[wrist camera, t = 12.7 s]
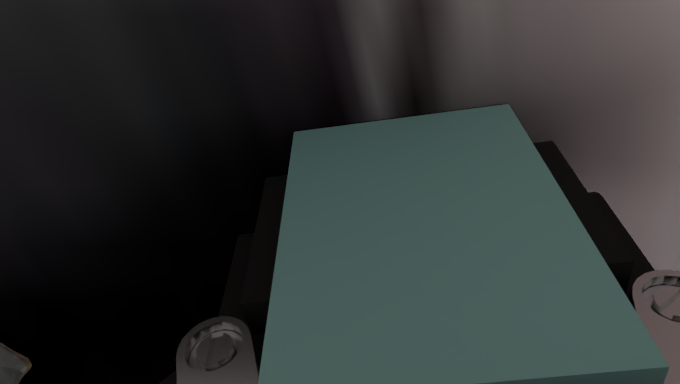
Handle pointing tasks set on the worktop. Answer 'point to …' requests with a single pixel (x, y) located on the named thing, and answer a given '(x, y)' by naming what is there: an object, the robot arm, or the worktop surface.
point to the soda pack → (12, 365)
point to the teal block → (441, 264)
